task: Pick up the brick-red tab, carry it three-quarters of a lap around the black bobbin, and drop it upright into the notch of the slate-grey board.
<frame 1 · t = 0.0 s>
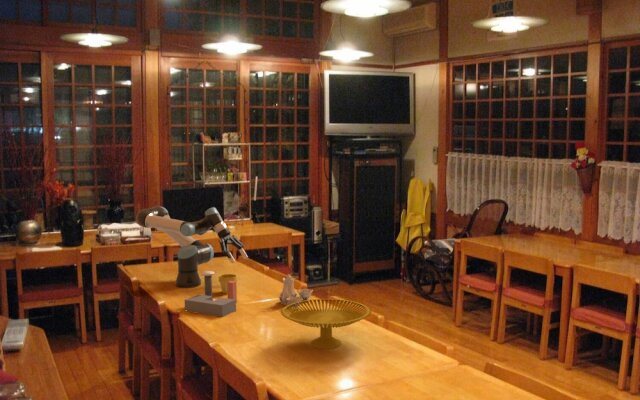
hand: (239, 260, 395), 15 cm above the table, tool tilted 35°, fingers open, 13 cm apart
chinaware: (293, 303, 356), on the table
tab: (232, 303, 356), on the table
pedestal fruit bowl: (326, 343, 290), on the table
notched board: (210, 310, 342), on the table
bobbin: (208, 303, 357), on the table
plant pot: (228, 292, 380), on the table
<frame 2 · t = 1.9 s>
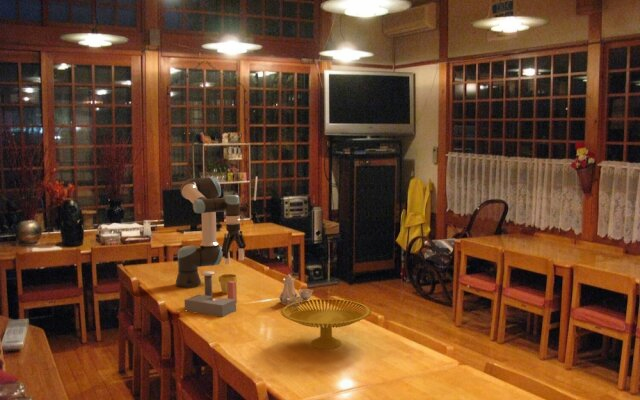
hand: (234, 262, 356), 22 cm above the table, tool pointing down, fingers open, 13 cm apart
nothing on the table moved.
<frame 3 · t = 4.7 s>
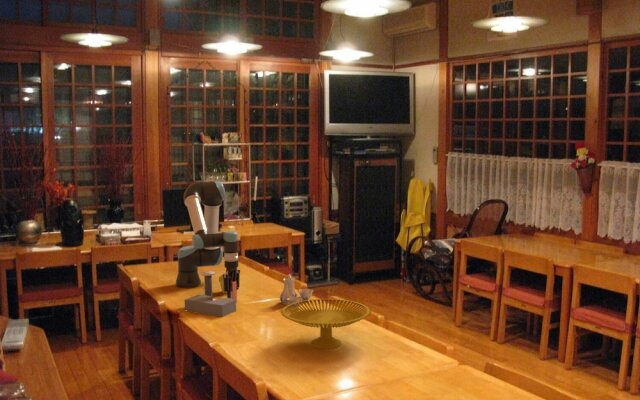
hand: (232, 302, 356), 1 cm above the table, tool pointing down, fingers closed on tab, 3 cm apart
tab: (232, 303, 356), on the table, touching gripper
everything else where it was.
when the fingers open (8 cm above the table, at t = 15.0 s): tab drops 8 cm, resting in notched board.
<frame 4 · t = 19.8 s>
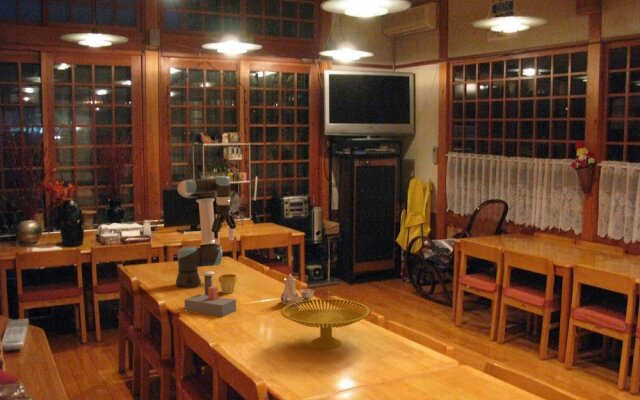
hand: (224, 242, 364), 32 cm above the table, tool pointing down, fingers open, 13 cm apart
tab: (213, 309, 344), resting in notched board
everything else where it was.
at the end: tab 0.0 cm from the target spot on the notched board, point 0.0 cm above the notched board's base; tab tilted 0°; the gripper is holding nothing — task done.
